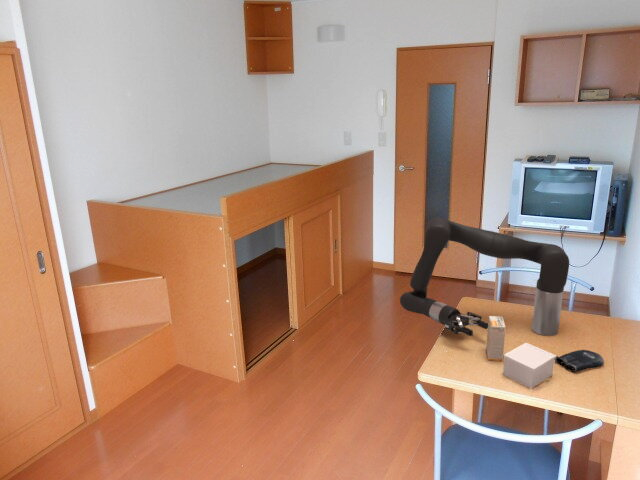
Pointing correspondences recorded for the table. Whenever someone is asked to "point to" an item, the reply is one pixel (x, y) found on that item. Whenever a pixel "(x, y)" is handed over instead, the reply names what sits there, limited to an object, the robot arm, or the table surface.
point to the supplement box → (495, 338)
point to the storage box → (528, 365)
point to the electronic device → (580, 360)
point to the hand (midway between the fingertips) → (480, 330)
